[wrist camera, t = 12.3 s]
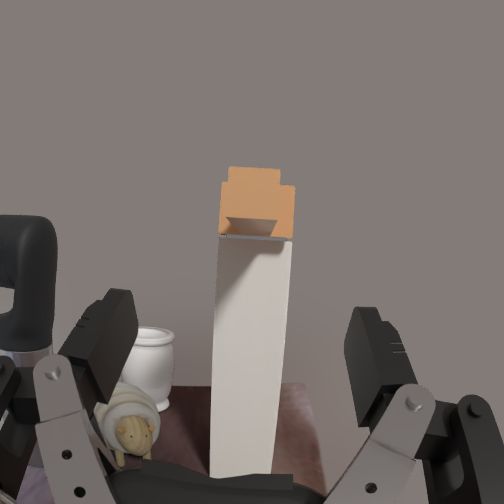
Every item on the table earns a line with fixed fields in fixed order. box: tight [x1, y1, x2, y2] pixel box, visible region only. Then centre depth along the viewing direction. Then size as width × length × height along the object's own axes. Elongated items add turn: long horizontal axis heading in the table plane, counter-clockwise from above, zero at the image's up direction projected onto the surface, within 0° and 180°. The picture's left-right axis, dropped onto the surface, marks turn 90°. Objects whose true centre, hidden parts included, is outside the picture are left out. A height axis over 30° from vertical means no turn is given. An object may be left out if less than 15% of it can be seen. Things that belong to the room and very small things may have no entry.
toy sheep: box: [94, 382, 161, 467], centre depth 39 cm, size 11×17×11 cm, turn 39°
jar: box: [121, 327, 174, 412], centre depth 56 cm, size 11×10×15 cm
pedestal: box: [210, 234, 292, 478], centre depth 43 cm, size 16×9×38 cm, turn 178°
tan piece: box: [219, 167, 295, 238], centre depth 26 cm, size 16×8×5 cm, turn 178°
